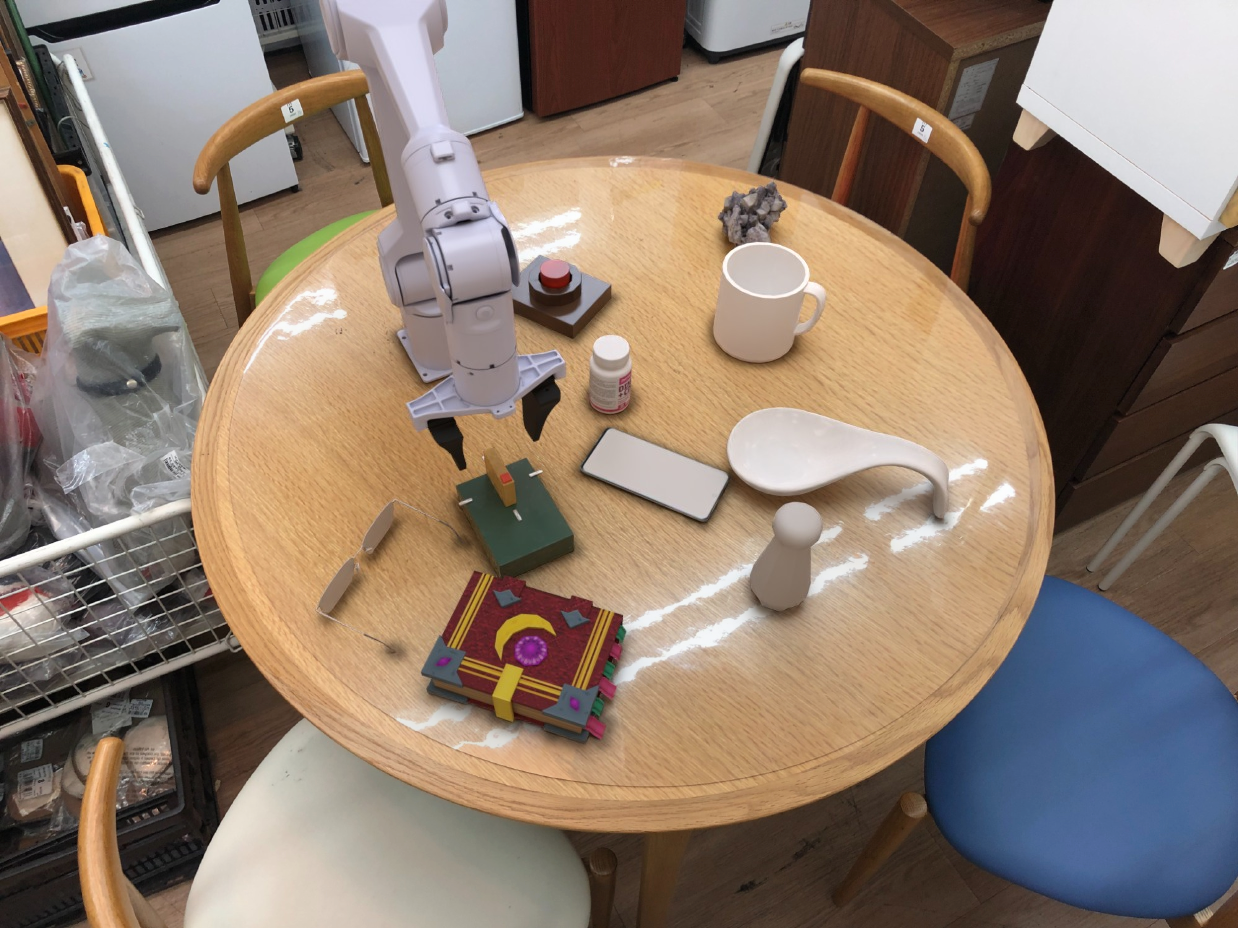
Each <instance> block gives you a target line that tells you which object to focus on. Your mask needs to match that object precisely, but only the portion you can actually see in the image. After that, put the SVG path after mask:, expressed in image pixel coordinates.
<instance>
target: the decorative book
mask: <svg viewBox="0 0 1238 928" xmlns="http://www.w3.org/2000/svg"><path fill="white" fill-rule="evenodd" d="M626 634H627V629H626V628H625V627H624V614H621V613H620V612H619V613H618V612H616V611H612V610H608V609H604V608H602V607H599V606H595V605H594V601H593V600H591V599H586V598H583V597H580V596H577V595H574V594H572V595H570V597H566V596H562V595H559V594H555V593H552V592H548V591H545V590H541V589H538V588H535V587H532V586H529V585H527V581H526V580H523V579H520V578H516V577H510V576H507V575H505V576H504V578H503V579H502V578H499V576H495V575H491V574H489V573H484V572H481V571H479V570H476V569H474V570H473V572H472V574H471V576H470V578H469V579H468V582H467V584H466V586H465V588H464V590H463V592H462V594H461V596H460V598H459V600H458V602H457V604H456V606H455V608H454V610H453V611H452V614H451V616H450V618H449V620H448V621H447V624H446V626H445V628H444V629H443V632H442V634H439V635H438V637H437V639H436V641H435V643H434V645H433V647H432V649H431V651H430V652H429V655H428V656H427V659H426V661H425V662H424V665H423V666H422V668H421V670H420V675H421V676H422V677H425V678H428V679H430V681H429V683H428V684H427V687H426V691H427V693H430V694H433V695H435V696H438V697H442V698H445V699H447V700H451V701H455V702H457V703H460V704H464V705H468V704H471V705H474V706H476V707H480V708H483V709H486V710H489V711H492V712H495V717H497V718H499V719H503V720H506V721H509V722H511V723H514V721H515V719H516V720H519V721H523V722H525V723H529V724H532V725H535V726H538V727H541V728H543V730H544V731H546V732H548V733H552V734H555V735H558V736H561V737H563V738H566V739H570V740H572V741H575V742H578V743H582V744H584V745H586V743H587V740H588V738H589V735H590V734H592V735H593V736H594V737H596V738H597V739H598V740H602V738H603V735H604V733H605V730H606V728H607V725H606V724H604V723H602V722H601V721H599V720H598V719H597V718H596V715H597V716H598V717H600V716H601V713H602V711H603V708H604V705H605V701H604V700H602V699H601V698H600V697H601V695H602V694H603V695H604V696H605V697H607V698H609V699H610V700H611V701H613V699H614V697H615V694H616V691H617V688H618V686H617V685H615V684H614V683H612V682H611V681H610V680H611V679H612V677H613V674H614V671H615V668H616V665H615V664H613V661H614V660H616V662H617V663H619V662H620V658H621V656H622V653H623V648H622V647H623V646H622V645H620V643H621V644H623V643H624V640H625V638H626ZM607 678H608V679H607ZM609 679H610V680H609Z"/></svg>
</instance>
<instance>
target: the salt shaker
mask: <svg viewBox="0 0 1238 928" xmlns="http://www.w3.org/2000/svg"><path fill="white" fill-rule="evenodd" d="M771 525H772V527H771V528H772V531H773V536H772V538H771V539H770V541H769V543H768V544H767V545H766V547H765V548H764V549H763V550H762V552H761V553H760V555H759V556H758V558H757V560H756V561H755V562H754V563H753V565H752V568H751V569H750V572H749V583H750V586H751V591H752V592H753V593H754V595H755V596H756V597H757V598H758V600H759V602H760V604H761V606H762V607H765V608H767V609H771V610H773V611H777V612H780V613H781V612H783V611H784V610H786V609H790V608H793V607H797V606H799V605H800V603H801V602H803V601H804V600H805V599H806V598H807V596H808V595H809V593H810V588H811V584H812V547H814V545H816V544H817V543H818V542H819V541H820V539H821V536H822V532H823V527H824V522H823V519H822V515H821V513H820V512H818V511H817V510H816V508H815V507H813V506H811V505H810V504H808V503H806V502H801V501H791V502H788V503H784V504H783V505H782V506H781V507H779V508H778V509H777V511H776V512H775V515H774V518H773V520H772V524H771Z"/></svg>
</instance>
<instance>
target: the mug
mask: <svg viewBox="0 0 1238 928" xmlns="http://www.w3.org/2000/svg"><path fill="white" fill-rule="evenodd" d="M809 268H810V267H809V266H808V264H807V262H806V260H805V259H804V258H803V257H802V256H801V255H800V254H799V253H798V252H796V251H795V250H793V249H791V248H789V247H786V246H784V245H781V244H778V243H772V242H770V243H768V242H754V243H747V244H744V245H741V246H738V247H734V248H733V249H732V250H730V251H729V252H728V253H727V254H726V256H724V259H723V262H722V266H721V271H720V272H721V274H720V278H719V279H720V280H719V285H718V294H717V300H716V305H715V306H716V307H715V313H714V320H713V327H712V331H713V337H714V340H715V342H716V344H717V345H718V347H720V349H721V350H722V351H723V352H725V353H726V354H727V355H729V356H730V357H732V358H735V359H736V360H739V361H743V362H747V363H760V364H761V363H767V362H769V363H770V362H773V361H775V360H778V359H780V358H782V357H783V356H784V355H786V354H788V352H789V351H790V350H791V348H792V347H793V344H794V341H795V337H796V336H799V335H803V334H806V333H808V332H809V331H811V330H812V329H813V328H814V327H815V326H816V324H817V323H819V321H820V320H821V317H822V315H823V313H824V311H825V307H826V303H827V293H826V289H825V288H824V287H823V286H822V285H821V284H819V283H817V282H815V281H809V279H810V275H811V274H810V269H809ZM805 295H809V296H812V297H813V298H814V299H815V302H816V306H815V309H814V311H813V314H812V315H811V317H810V318H809V319H807V320H806V321H804V322H799V320H800V316H801V311H802V307H803V305H804V299H805Z"/></svg>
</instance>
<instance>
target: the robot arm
mask: <svg viewBox="0 0 1238 928" xmlns="http://www.w3.org/2000/svg"><path fill="white" fill-rule="evenodd" d="M318 5H319V8H320V12H321V17H322V19H323V24H324V27H325V30H326V34H327V37H328V41H329V45H330V49H331V51H332V54H334V55H335V58H336V59H337V60H338V61H345V62H350V63H353V64H355V65H356V64H357V65H358V67H359V69H360V70H361V71H362V73H363V74H364V76H365V79H366V84H367V88H368V93H369V97H370V102H371V105H372V110H373V115H374V119H375V124H376V128H377V132H378V137H379V142H380V146H381V150H382V155H383V159H384V163H385V168H386V173H387V177H388V181H389V186H390V189H391V191H390V192H391V195H392V199H393V204H394V208H395V213H396V217H394V219H393V220H392V221H391V222H390V223H388V225H387V226H386V227H385V228H383V229H382V230H381V231H380V232H379V233H378V235H377V236H376V237H377V241H376V249H377V251H378V262H379V267H380V271H381V275H382V278H383V282H384V285H385V289H386V292H387V296H388V298H389V301H390V304H392V305H393V306H395V307H396V308H397V309H399V311H400V316H401V321H402V325H403V329H400V330H398V331H397V332H396V336H397V337H398V340H399V341H400V343H401V345H402V347H403V348H404V350H405V352H406V353H407V355H408V357H409V359H410V361H411V362H412V364H413V366H414V369H416V371H417V373H418V375H419V377H420V378H421V380H422V382H423V383H426V384H427V383H431V382H434V381H437V380H440V379H443V378H445V377H447V378H445V379H444V380H442V381H441V382H439V383H438V384H436V385H435V386H434V387H432V388H431V389H430V390H428V391H427V392H425V393H424V394H422V395H421V396H419V397H417V398H415V399H413V400H411V401H408V402H406V403H405V406H406V410H407V414H408V418H409V420H410V422H411V424H412V426H413V427H414V429H415V431H416V433H420V432H422V431H425V430H428V431H429V433H430V435H431V437H432V438H433V440H434V442H435V443H436V444H437V446H439V448H442V449H444V450H445V451H446V452H447V453H448V454H449V455H450V456H451V459H452V461H453V462H454V463H455V466H456V467H457V470H458V471H459V472H462V471H464V470H467V469H468V465H467V461H466V457H465V454H464V438H465V436H464V435H463V433H462V431H461V429H460V428H459V426H458V424H457V419H455V417H456V418H457V417H465V416H466V417H467V416H473V415H474V416H476V415H485V414H490V415H491V416H492V417H493V418H494V419H495V420H503V419H505V418H508V417H511V416H512V415H514V414H516V411H517V408H516V404H515V403H517V402H518V401H519V400H521V406H522V407H521V410H522V411H521V412H522V421H523V422H522V423H523V427H524V430H525V432H526V433H527V434H528V436H529V438H530V439H531V441H532V442H533V443H535V442H538V441H540V438H541V435H542V432H543V428H544V426H545V424H546V421H547V419H548V417H549V416H550V414H551V412H552V411H553V410H554V408H555V407H556V406H557V405H558V404H559V403H560V402H561V398H562V392H561V391H562V390H561V388H560V386H559V385H558V384H557V382H556V381H558V380H561V379H564V378H566V377H567V367H566V365H567V364H566V361H565V359H564V358H563V356H562V355H561V354H560V352H559V351H558V350H557V348H556V349H552V350H548V351H545V352H539V353H529V354H519V355H518V346H517V333H516V322H515V312H514V310H513V299H512V289H511V284H512V283H513V284H514V285H515V286H516V287H519V285H520V273H521V268H520V259H519V253H518V249H517V245H516V241H515V239H514V236H513V234H512V230H511V228H510V226H509V223H508V221H507V219H506V217H505V216H504V214H503V212H501V209H500V208H499V204H498V203H497V201H496V200H493V201H492V200H491V199H490V195H489V192H488V189H487V186H486V184H485V180H484V177H483V174H482V172H481V171H482V170H481V169H480V166H479V163H478V159H477V156H476V154H475V151H474V148H473V145H472V143H471V141H470V139H469V138H468V137H467V136H466V135H464V134H462V133H460V132H458V131H457V130H454V129H452V127H451V123H450V120H449V115H448V111H447V108H446V102H445V97H444V95H443V91H442V86H441V81H440V77H439V74H438V69H437V65H436V60H435V55H436V54H438V52H439V51H441V50H442V49H443V48H444V47H445V34H446V32H447V30H448V29H449V27H448V26H449V17H448V8H447V1H446V0H318Z"/></svg>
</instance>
